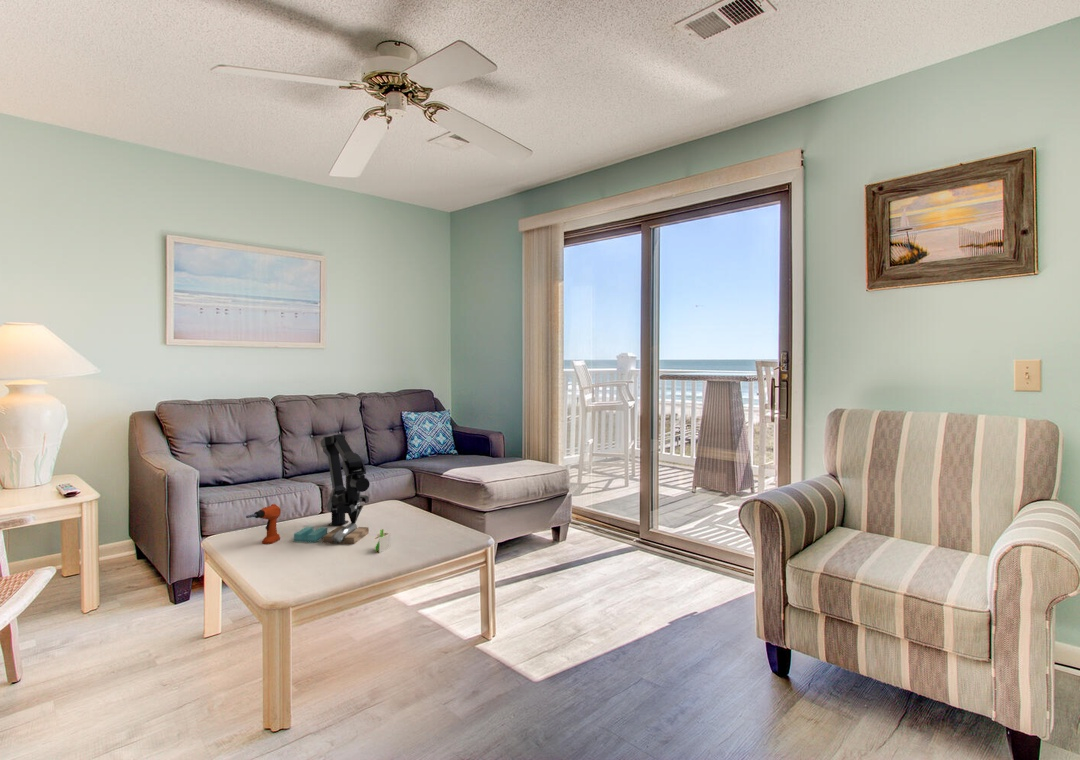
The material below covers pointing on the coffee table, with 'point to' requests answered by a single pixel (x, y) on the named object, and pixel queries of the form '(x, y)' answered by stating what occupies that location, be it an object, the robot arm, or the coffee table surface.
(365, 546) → the coffee table surface
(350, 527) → the axle
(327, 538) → the wooden channel block
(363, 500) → the robot arm
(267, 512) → the toy drill
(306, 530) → the v block
